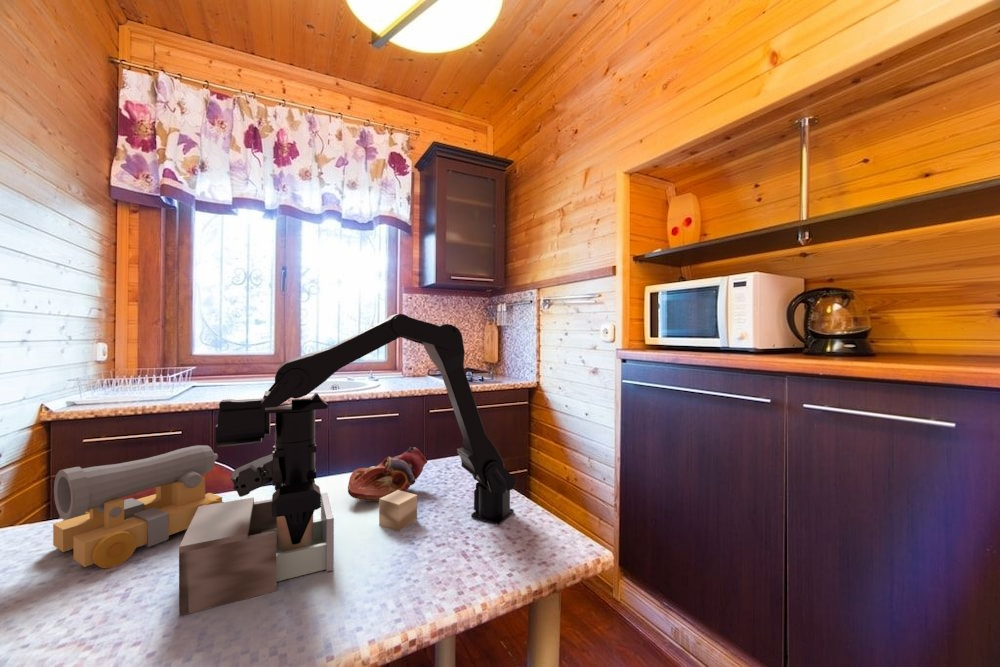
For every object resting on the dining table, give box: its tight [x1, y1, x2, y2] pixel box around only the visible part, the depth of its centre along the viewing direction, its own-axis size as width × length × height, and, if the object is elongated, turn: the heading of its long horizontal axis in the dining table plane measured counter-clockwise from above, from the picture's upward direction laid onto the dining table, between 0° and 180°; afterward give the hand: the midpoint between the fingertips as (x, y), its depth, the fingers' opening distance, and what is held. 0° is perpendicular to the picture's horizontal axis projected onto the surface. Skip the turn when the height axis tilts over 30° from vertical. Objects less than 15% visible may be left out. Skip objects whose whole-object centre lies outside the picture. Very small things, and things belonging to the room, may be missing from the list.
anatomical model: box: [347, 446, 428, 503], centre depth 91 cm, size 11×13×15 cm
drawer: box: [261, 492, 335, 583], centre depth 65 cm, size 10×11×8 cm
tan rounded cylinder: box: [277, 514, 314, 552], centre depth 65 cm, size 5×5×6 cm
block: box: [378, 490, 418, 532], centre depth 78 cm, size 5×5×5 cm
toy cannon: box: [52, 444, 224, 569], centre depth 73 cm, size 16×22×15 cm
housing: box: [178, 497, 277, 617], centre depth 61 cm, size 11×14×9 cm
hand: (295, 535), depth 65 cm, fingers closed on tan rounded cylinder, 5 cm apart
